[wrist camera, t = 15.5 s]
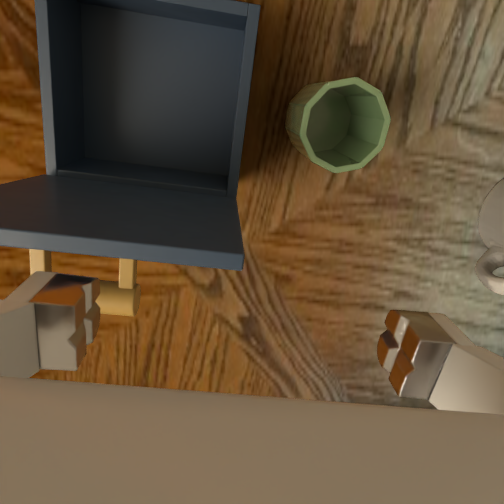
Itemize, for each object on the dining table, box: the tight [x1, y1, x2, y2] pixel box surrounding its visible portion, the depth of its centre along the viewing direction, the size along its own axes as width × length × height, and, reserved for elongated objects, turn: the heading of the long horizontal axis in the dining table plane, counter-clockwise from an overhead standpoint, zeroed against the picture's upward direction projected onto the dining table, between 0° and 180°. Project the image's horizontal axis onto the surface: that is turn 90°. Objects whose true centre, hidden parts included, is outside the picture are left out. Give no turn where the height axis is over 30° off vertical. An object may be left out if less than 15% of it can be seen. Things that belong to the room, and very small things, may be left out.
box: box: [35, 0, 261, 198], centre depth 30 cm, size 14×15×7 cm
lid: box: [0, 174, 245, 316], centre depth 23 cm, size 14×15×4 cm
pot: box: [285, 77, 391, 173], centre depth 30 cm, size 6×7×9 cm
